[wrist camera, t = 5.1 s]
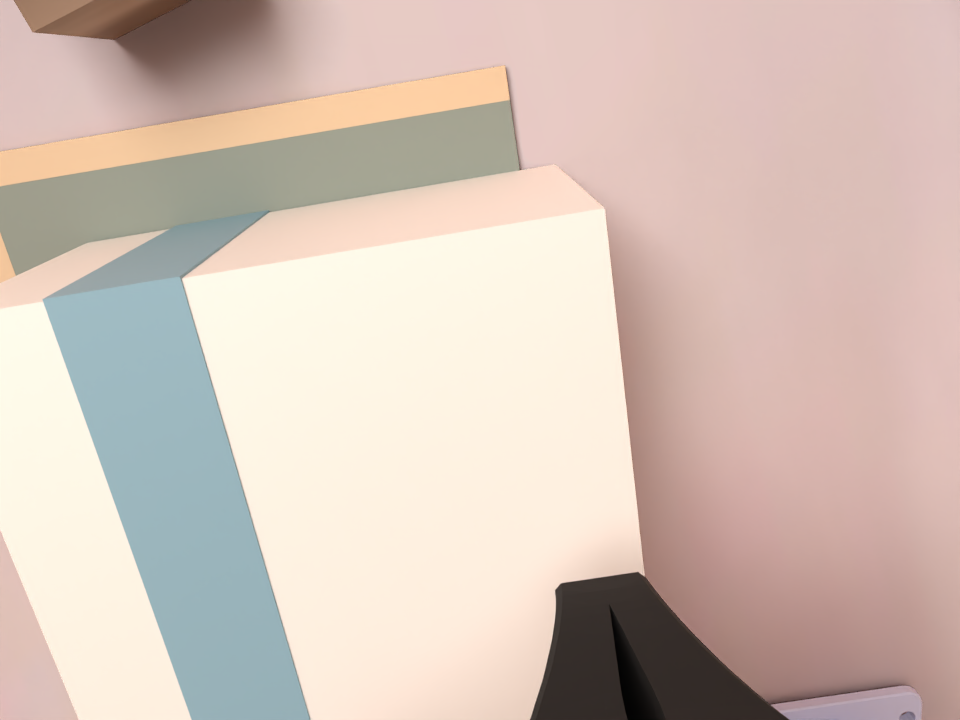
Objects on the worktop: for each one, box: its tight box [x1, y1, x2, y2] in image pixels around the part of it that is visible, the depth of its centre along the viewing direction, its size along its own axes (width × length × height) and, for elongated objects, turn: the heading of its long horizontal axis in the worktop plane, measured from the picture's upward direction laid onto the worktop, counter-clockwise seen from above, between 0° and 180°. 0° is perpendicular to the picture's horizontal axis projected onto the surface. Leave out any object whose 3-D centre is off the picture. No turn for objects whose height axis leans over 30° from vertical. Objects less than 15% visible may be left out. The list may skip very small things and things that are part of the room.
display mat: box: [0, 65, 520, 283], centre depth 23 cm, size 17×14×1 cm
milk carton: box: [0, 164, 645, 720], centre depth 19 cm, size 12×7×13 cm
